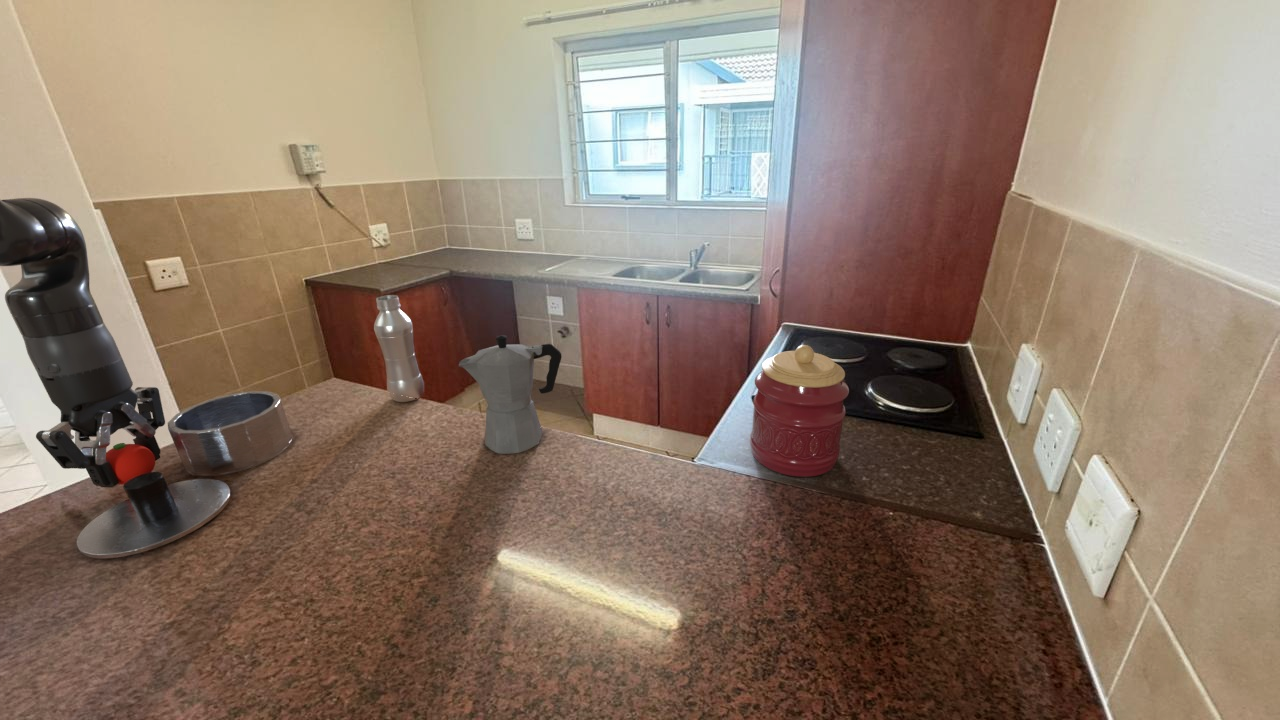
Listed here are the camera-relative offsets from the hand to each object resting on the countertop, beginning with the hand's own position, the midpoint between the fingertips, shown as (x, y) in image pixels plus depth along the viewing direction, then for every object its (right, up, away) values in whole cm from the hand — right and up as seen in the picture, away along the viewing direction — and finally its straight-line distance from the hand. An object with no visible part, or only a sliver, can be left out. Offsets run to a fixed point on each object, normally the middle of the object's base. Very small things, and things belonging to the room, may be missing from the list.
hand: (131, 472), depth 71 cm
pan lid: (+10, -4, -6) cm, 13 cm away
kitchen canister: (+95, +1, +6) cm, 95 cm away
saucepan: (+9, +1, +9) cm, 12 cm away
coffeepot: (+52, +3, +11) cm, 54 cm away
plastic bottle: (+27, +8, +26) cm, 38 cm away
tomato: (0, +1, 0) cm, 1 cm away
